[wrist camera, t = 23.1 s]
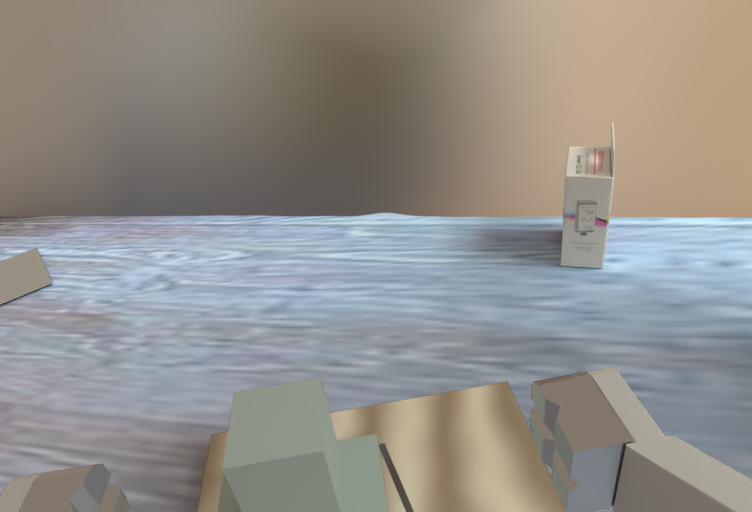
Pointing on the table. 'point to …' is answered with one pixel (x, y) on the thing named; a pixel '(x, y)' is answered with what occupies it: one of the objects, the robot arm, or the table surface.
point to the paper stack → (22, 275)
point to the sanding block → (296, 456)
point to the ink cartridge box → (587, 204)
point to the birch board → (439, 454)
